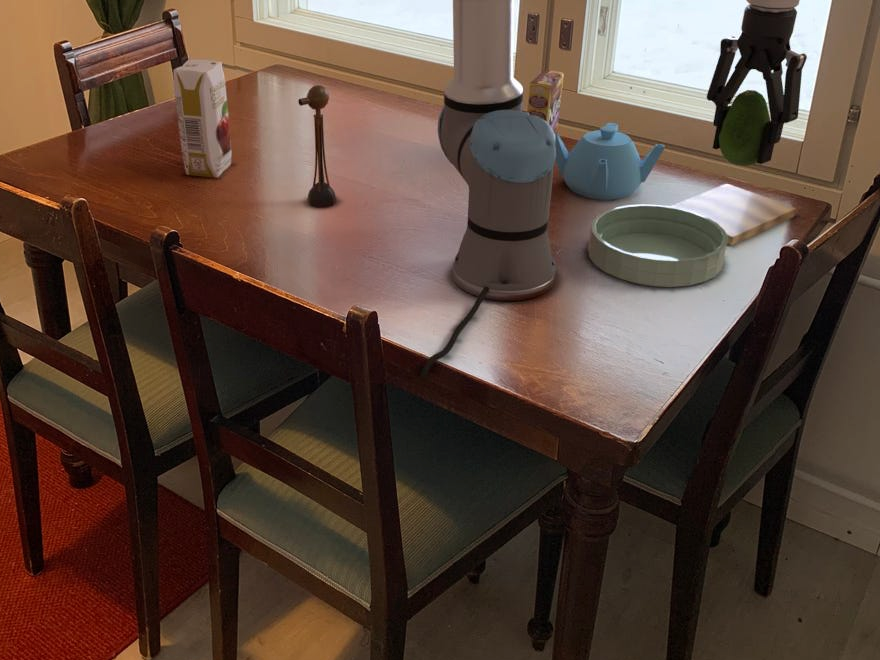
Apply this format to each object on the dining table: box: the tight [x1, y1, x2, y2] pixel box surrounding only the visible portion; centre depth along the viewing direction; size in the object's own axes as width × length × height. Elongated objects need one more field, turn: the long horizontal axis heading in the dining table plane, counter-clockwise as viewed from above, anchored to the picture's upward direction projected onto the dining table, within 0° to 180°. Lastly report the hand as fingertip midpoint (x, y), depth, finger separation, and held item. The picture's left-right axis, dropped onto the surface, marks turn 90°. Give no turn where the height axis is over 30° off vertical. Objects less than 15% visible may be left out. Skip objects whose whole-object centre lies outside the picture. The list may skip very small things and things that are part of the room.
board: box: [669, 183, 797, 246], centre depth 169 cm, size 18×14×2 cm
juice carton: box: [173, 58, 233, 179], centre depth 179 cm, size 8×9×19 cm
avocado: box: [719, 89, 771, 167], centre depth 160 cm, size 8×8×12 cm
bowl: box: [587, 203, 728, 288], centre depth 155 cm, size 20×20×4 cm
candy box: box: [526, 69, 565, 135], centre depth 186 cm, size 9×4×15 cm, turn 157°
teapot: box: [555, 122, 666, 201], centre depth 176 cm, size 15×15×11 cm
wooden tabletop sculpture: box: [298, 84, 337, 209], centre depth 167 cm, size 6×5×20 cm
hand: (741, 154), depth 163 cm, fingers closed on avocado, 8 cm apart
